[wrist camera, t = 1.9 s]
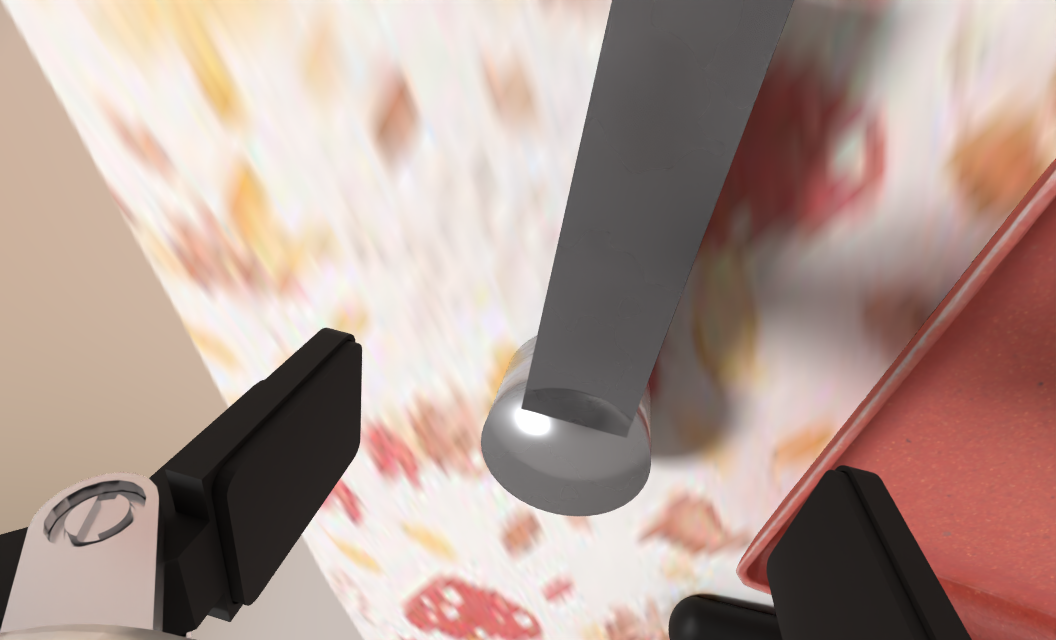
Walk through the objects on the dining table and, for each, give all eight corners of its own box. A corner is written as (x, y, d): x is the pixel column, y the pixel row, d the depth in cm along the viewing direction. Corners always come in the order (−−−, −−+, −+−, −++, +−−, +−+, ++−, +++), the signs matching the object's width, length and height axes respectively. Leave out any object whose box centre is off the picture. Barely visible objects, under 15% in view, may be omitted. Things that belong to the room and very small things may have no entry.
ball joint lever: (587, -42, 13) (569, -65, 10) (808, 1, 13) (861, -8, 9) (496, 423, 21) (471, 489, 18) (626, 460, 21) (623, 533, 18)
